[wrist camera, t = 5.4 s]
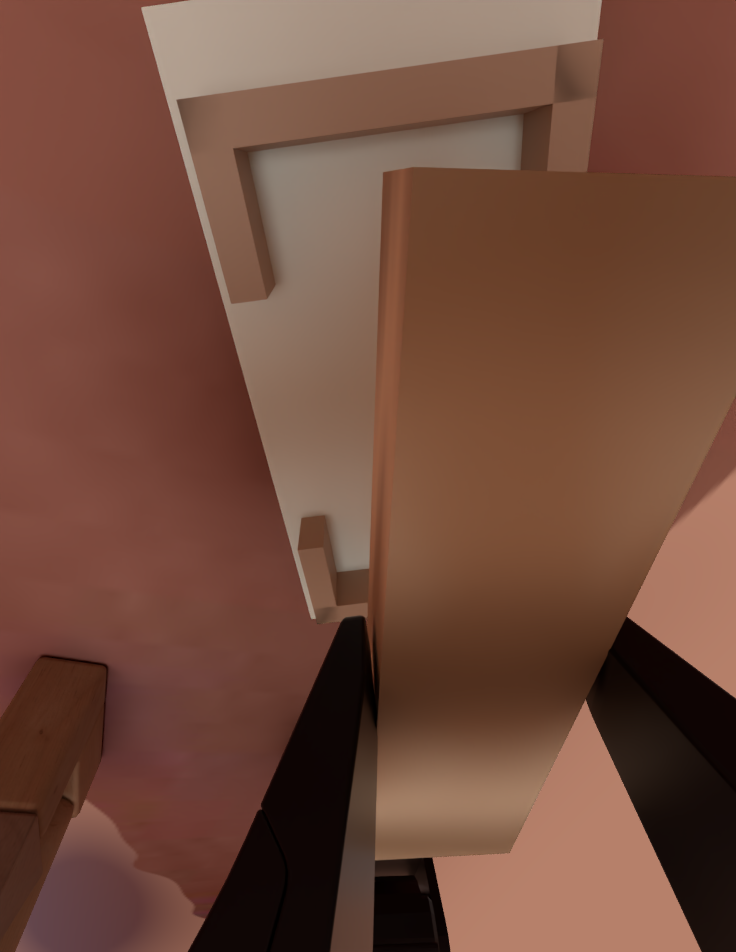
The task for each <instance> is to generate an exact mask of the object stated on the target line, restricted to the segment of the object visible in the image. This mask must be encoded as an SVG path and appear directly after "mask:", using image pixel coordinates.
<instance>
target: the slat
mask: <svg viewBox="0 0 736 952" xmlns="http://www.w3.org/2000/svg"><path fill="white" fill-rule="evenodd" d="M735 396H736V177H728V176H695V175H662V174H630V173H597V172H564V171H531V170H499V169H466V168H433V167H410V168H404V169H399V170H393V171H388V172H383V186H382V215H381V243H380V272H379V301H378V329H377V358H376V386H375V415H374V444H373V472H372V501H371V530H370V558H369V587H368V616H367V631H368V637H369V642H370V650H371V660H372V672H373V683H374V694H375V709H376V726H377V736H378V756H377V797H376V838H375V860H392V859H410V858H429V857H447V856H465V855H484V854H502V853H510V851H511V849H512V847H513V845H514V843H515V841H516V839H517V837H518V835H519V833H520V831H521V829H522V827H523V825H524V823H525V821H526V819H527V817H528V814H529V813H530V811H531V809H532V806H533V804H534V802H535V800H536V798H537V796H538V794H539V792H540V790H541V788H542V786H543V784H544V782H545V780H546V778H547V776H548V774H549V772H550V770H551V768H552V766H553V764H554V762H555V760H556V758H557V756H558V754H559V752H560V750H561V748H562V746H563V744H564V742H565V740H566V738H567V736H568V734H569V731H570V730H571V728H572V725H573V724H574V721H575V720H576V717H577V715H578V713H579V711H580V709H581V707H582V705H583V703H584V701H585V699H586V697H587V695H588V693H589V691H590V689H591V687H592V685H593V683H594V681H595V679H596V677H597V675H598V673H599V671H600V669H601V667H602V665H603V663H604V661H605V659H606V657H607V654H608V651H609V649H611V647H612V645H613V643H614V641H615V639H616V637H617V635H618V633H619V631H620V629H621V627H622V625H623V623H624V621H625V619H626V616H627V614H628V612H629V610H630V608H631V606H632V604H633V602H634V600H635V598H636V596H637V594H638V592H639V590H640V588H641V586H642V584H643V582H644V580H645V578H646V576H647V574H648V572H649V570H650V568H651V566H652V564H653V562H654V560H655V558H656V556H657V554H658V552H659V550H660V548H661V546H662V544H663V542H664V540H665V538H666V536H667V534H668V532H669V530H670V528H671V526H672V524H673V521H674V519H675V517H676V515H677V513H678V511H679V509H680V507H681V505H682V503H683V501H684V499H685V497H686V495H687V493H688V491H689V489H690V487H691V485H692V483H693V481H694V479H695V477H696V475H697V473H698V471H699V469H700V467H701V465H702V463H703V461H704V459H705V457H706V455H707V453H708V451H709V449H710V447H711V445H712V443H713V441H714V439H715V437H716V435H717V433H718V431H719V429H720V426H721V424H722V422H723V420H724V418H725V416H726V414H727V412H728V410H729V408H730V406H731V404H732V402H733V400H734V398H735Z"/></svg>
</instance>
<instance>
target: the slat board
mask: <svg viewBox="0 0 736 952" xmlns="http://www.w3.org/2000/svg"><path fill="white" fill-rule="evenodd" d="M601 3H602V0H189V1H182V2H176V3H169V4H162V5H155V6H148V7H142V8H141V9H142V12H143V16H144V20H145V23H146V27H147V30H148V34H149V38H150V41H151V45H152V48H153V52H154V55H155V59H156V63H157V66H158V70H159V73H160V77H161V81H162V84H163V88H164V91H165V95H166V99H167V102H168V106H169V109H170V113H171V117H172V120H173V124H174V127H175V131H176V135H177V138H178V142H179V145H180V149H181V153H182V156H183V160H184V163H185V167H186V171H187V174H188V178H189V181H190V185H191V188H192V192H193V196H194V199H195V203H196V206H197V210H198V214H199V217H200V221H201V224H202V228H203V232H204V235H205V239H206V242H207V246H208V250H209V253H210V257H211V260H212V264H213V268H214V271H215V275H216V278H217V282H218V286H219V289H220V293H221V296H222V300H223V304H224V307H225V311H226V314H227V318H228V321H229V325H230V329H231V332H232V336H233V339H234V343H235V347H236V350H237V354H238V357H239V361H240V365H241V368H242V372H243V375H244V379H245V383H246V386H247V390H248V393H249V397H250V401H251V404H252V408H253V411H254V415H255V419H256V422H257V426H258V429H259V433H260V437H261V440H262V444H263V447H264V451H265V454H266V458H267V462H268V465H269V469H270V472H271V476H272V480H273V483H274V487H275V490H276V494H277V498H278V501H279V505H280V508H281V512H282V516H283V519H284V523H285V526H286V530H287V534H288V537H289V541H290V544H291V548H292V552H293V555H294V559H295V562H296V566H297V570H298V573H299V577H300V580H301V584H302V587H303V591H304V595H305V598H306V602H307V605H308V609H309V613H310V616H311V619H316V621H317V624H323V623H332V622H340V621H342V620H343V619H344V618H345V617H351V616H359V615H361V616H364V617H365V619H366V618H367V616H368V587H369V558H370V530H371V501H372V472H373V444H374V415H375V386H376V358H377V329H378V301H379V272H380V243H381V215H382V186H383V172H388V171H393V170H399V169H404V168H410V167H433V168H466V169H499V170H531V171H564V172H587V168H588V160H589V152H590V144H591V136H592V128H593V120H594V112H595V104H596V96H597V88H598V80H599V72H600V64H601V56H602V48H603V40H604V39H599V40H597V36H598V28H599V20H600V11H601Z"/></svg>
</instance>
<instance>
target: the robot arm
mask: <svg viewBox="0 0 736 952" xmlns="http://www.w3.org/2000/svg"><path fill="white" fill-rule="evenodd" d="M586 701H587V704H588V707H589V709H590V712H591V714H592V717H593V719H594V721H595V724H596V726H597V728H598V730H599V732H600V734H601V737H602V739H603V741H604V743H605V745H606V747H607V749H608V751H609V754H610V756H611V758H612V760H613V762H614V765H615V767H616V769H617V771H618V773H619V775H620V777H621V780H622V782H623V784H624V786H625V788H626V790H627V792H628V795H629V796H630V799H631V801H632V803H633V805H634V808H635V810H636V812H637V814H638V816H639V818H640V820H641V823H642V825H643V827H644V829H645V831H646V833H647V835H648V838H649V839H650V842H651V844H652V846H653V848H654V850H655V852H656V855H657V857H658V859H659V861H660V863H661V866H662V868H663V870H664V872H665V874H666V876H667V878H668V880H669V882H670V885H671V887H672V889H673V891H674V893H675V895H676V898H677V900H678V902H679V904H680V906H681V909H682V910H683V913H684V915H685V917H686V919H687V921H688V923H689V926H690V928H691V930H692V932H693V934H694V936H695V938H696V940H697V943H698V945H699V947H700V949H701V951H702V952H736V698H734V697H733V696H732V695H730V694H729V693H728V692H726V691H725V690H724V689H722V688H721V687H720V686H718V685H717V684H716V683H714V682H713V681H712V680H710V679H709V678H708V677H706V676H705V675H704V674H702V673H701V672H700V671H698V670H697V669H696V668H694V667H693V666H692V665H690V664H689V663H688V662H686V661H685V660H684V659H682V658H681V657H680V656H678V655H677V654H676V653H675V652H673V651H672V650H671V649H669V648H668V647H666V646H665V645H664V644H662V643H661V642H660V641H658V640H657V639H656V638H655V637H653V636H652V635H650V634H649V633H648V632H646V631H645V630H644V629H643V628H641V627H640V626H638V625H637V624H636V623H635V622H633V621H632V620H631V619H629V618H628V617H627V616H626V619H625V621H624V623H623V625H622V627H621V629H620V631H619V633H618V635H617V637H616V639H615V641H614V643H613V645H612V647H611V649H609V651H608V654H607V657H606V659H605V661H604V663H603V665H602V667H601V669H600V671H599V673H598V675H597V677H596V679H595V681H594V683H593V685H592V687H591V689H590V691H589V693H588V695H587V697H586ZM377 756H378V736H377V726H376V709H375V694H374V683H373V672H372V660H371V650H370V642H369V637H368V631H367V625H366V620H365V617H364V616H361V615H359V616H351V617H345V618H344V619H343V620H342V621H341V623H340V626H339V628H338V630H337V632H336V635H335V637H334V639H333V641H332V644H331V646H330V648H329V651H328V653H327V655H326V657H325V660H324V662H323V664H322V666H321V669H320V671H319V673H318V676H317V678H316V680H315V682H314V685H313V687H312V689H311V691H310V694H309V696H308V698H307V701H306V703H305V705H304V707H303V710H302V712H301V714H300V717H299V719H298V721H297V723H296V726H295V728H294V730H293V732H292V735H291V737H290V739H289V742H288V744H287V746H286V748H285V751H284V753H283V755H282V757H281V760H280V762H279V764H278V767H277V769H276V771H275V773H274V776H273V778H272V780H271V782H270V785H269V787H268V789H267V792H266V794H265V796H264V798H263V801H262V803H261V808H262V810H261V809H260V810H258V812H257V814H256V816H255V818H254V821H253V823H252V825H251V827H250V830H249V832H248V834H247V836H246V839H245V841H244V843H243V845H242V847H241V849H240V851H239V854H238V856H237V858H236V860H235V862H234V864H233V866H232V869H231V871H230V873H229V875H228V877H227V879H226V881H225V883H224V885H223V887H222V889H221V891H220V893H219V894H218V896H217V898H216V900H215V902H214V904H213V906H212V908H211V910H210V912H209V914H208V915H207V917H206V919H205V921H204V923H203V925H202V927H201V929H200V930H199V932H198V934H197V936H196V938H195V940H194V941H193V943H192V945H191V947H190V949H189V950H188V952H450V945H449V938H448V932H447V927H446V922H445V917H444V912H443V907H442V902H441V898H440V893H439V888H438V883H437V879H436V873H435V869H434V864H433V859H432V857H429V858H410V859H392V860H375V838H376V797H377Z"/></svg>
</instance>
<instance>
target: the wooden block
mask: <svg viewBox="0 0 736 952" xmlns="http://www.w3.org/2000/svg"><path fill="white" fill-rule="evenodd" d="M105 688H106V667H104V666H102V665H97V664H91V663H84V662H77V661H70V660H63V659H56V658H49V657H41V658H40V659H38V660H37V662H36V663H35V664H34V666H33V668H32V669H31V671H30V672H29V674H28V676H27V677H26V679H25V680H24V682H23V684H22V685H21V687H20V688H19V690H18V692H17V693H16V695H15V696H14V698H13V700H12V701H11V703H10V704H9V706H8V707H7V709H6V711H5V712H4V714H3V715H2V717H1V719H0V952H15V951H16V948H17V946H18V943H19V941H20V938H21V936H22V934H23V931H24V929H25V927H26V924H27V922H28V919H29V917H30V915H31V912H32V910H33V908H34V905H35V903H36V901H37V898H38V896H39V893H40V891H41V889H42V886H43V884H44V881H45V879H46V876H47V874H48V872H49V870H50V867H51V865H52V862H53V860H54V858H55V855H56V853H57V851H58V848H59V846H60V843H61V841H62V839H63V836H64V834H65V831H66V829H67V827H68V824H69V822H70V820H71V818H74V817H76V816H77V815H78V814H79V813H80V810H81V808H82V805H83V803H84V800H85V798H86V796H87V793H88V791H89V788H90V786H91V783H92V781H93V779H94V776H95V774H96V771H97V769H98V766H99V764H100V762H101V749H102V733H103V717H104V702H105Z"/></svg>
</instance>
